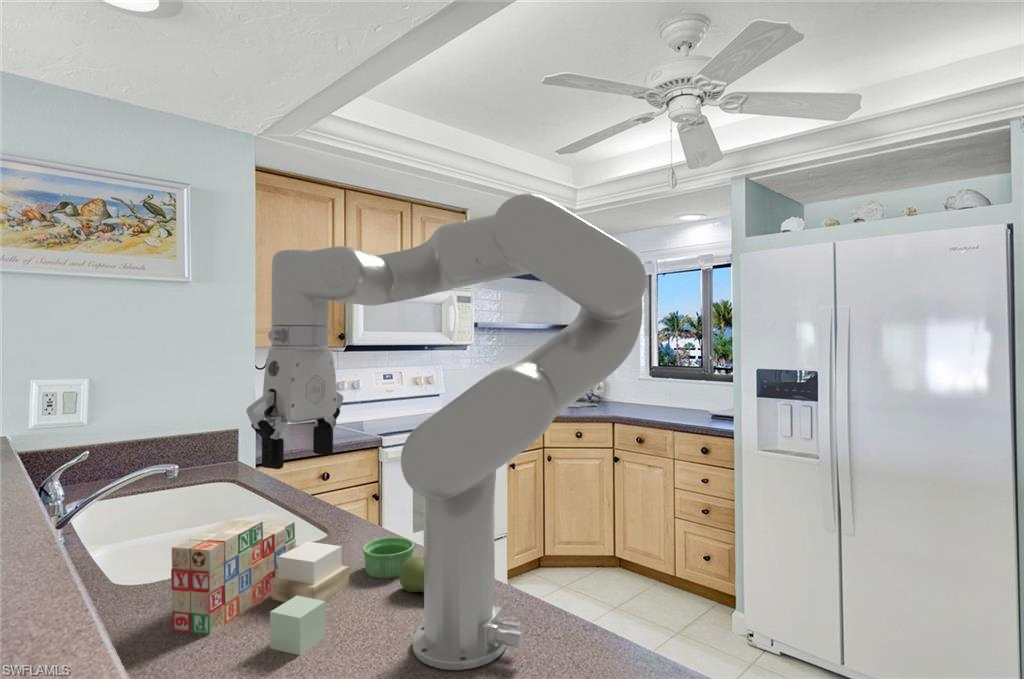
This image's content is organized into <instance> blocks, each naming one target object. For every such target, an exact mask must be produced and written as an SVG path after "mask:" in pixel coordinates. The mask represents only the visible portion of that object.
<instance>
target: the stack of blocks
mask: <svg viewBox="0 0 1024 679" xmlns="http://www.w3.org/2000/svg"><path fill="white" fill-rule="evenodd" d="M295 524H296V523H295V521H293V520H269V519H263V520H251V519H250V520H248V519H247V520H244V519H228V520H226V521H223V522H221V523H219V524H217V525H215V526H213V527H211V528H208V529H207V530H205V531H203V532H201V533H199V534H196V535H195V536H193V537H191V538H189V539H186V540H183V541H182V542H180V543H177V544H176V545H173V546H171V570H170V573H171V574H170V575H171V576H170V580H171V582H170V583H171V598H172V599H171V601H172V605H171V606H172V607H171V608H172V612H171V617H172V618H171V619H172V620H171V621H172V622H171V623H172V626H171V627H172V629H171V630H172V632H179V633H189V634H192V633H193V634H198V635H199V634H200V635H206V636H207V635H208V636H210V635H213V633H214V632H216V631H217V630H219V629H220V628H222V627H223V626H224V625H226V624H227V623H229V622H230V621H232V620H234V619H235V618H236V617H238V616H239V615H241V614H242V613H243V612H245V611H246V610H248V608H250V607H252V605H254V604H255V603H256V602H258V601H259V600H260V599H262V598H263V597H264V596H265V595H266V594H268V593H271V579H273V578H275V577H277V576H278V556H280V555H282V554H284V553H286V552H288V551H290V550H292V549H294V548H296V547H297V544H296V542H297V541H296V533H295V532H296V530H295V526H296V525H295Z"/></svg>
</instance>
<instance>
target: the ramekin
mask: <svg viewBox="0 0 1024 679" xmlns="http://www.w3.org/2000/svg"><path fill="white" fill-rule="evenodd" d="M414 547H415V543H414V541H412V539H409V538H405V537H401V536H387V537H386V536H385V537H381V538H376V539H373V540H371V541H368V542H367V543H365V544H364V545H363V547H362V552H363V555H364V556H363V557H364V566H365V567H364V568H365V573H366V575H368V576H370V577H371V578H376V579H394V578H399V571H400V568H401V566H402V565H403V563H404V562H405V561H406V560H408V559H410V558H413V555H414V554H413V552H414V549H415V548H414Z"/></svg>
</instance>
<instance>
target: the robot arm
mask: <svg viewBox="0 0 1024 679" xmlns="http://www.w3.org/2000/svg"><path fill="white" fill-rule="evenodd" d="M530 274H531V275H533V276H534V277H535V278H537V279H539V280H540V281H542V282H543V283H545V284H546V285H548V286H549V287H551V288H552V289H554V290H556V291H558V292H559V293H560V294H562V295H563V296H565V297H567V298H568V299H570V300H572V301H573V302H575V303H577V304H578V305H579V306H580V308H579V311H578V314H577V316H576V317H575V318H574V319H573V321H572V322H571V323H569V324H568V325H567V326H566V327H564V328H563V329H562V330H560V331H559V332H557V333H556V334H554V336H552V337H550V338H549V340H547V341H545V343H543V344H542V345H540V347H538V348H536V349H535V350H534V351H532V352H531V353H529V354H528V355H527V356H525V357H523V358H522V359H520V360H519V361H517V362H514V363H512V364H509V365H506V366H503V367H501V368H497V369H496V370H494V371H492V372H490V373H488V374H487V375H486V376H484V377H483V378H482V379H480V380H479V381H477V382H476V383H475V384H473V385H472V386H470V387H469V388H468V389H467V390H465V391H464V392H462V393H461V394H459V395H458V396H456V397H455V398H454V399H452V400H451V401H450V402H449V403H447V404H446V405H445V406H443V407H442V408H441V409H439V410H437V411H436V412H435V413H433V414H432V415H431V416H430V417H428V418H427V419H426V420H424V421H422V422H421V423H420V424H418V425H416V427H415V428H414V429H413V430H412V431H411V432H410V433H409V435H408V436H407V438H406V440H405V441H404V444H403V446H402V449H401V454H400V466H401V467H400V468H401V472H402V476H403V479H404V480H405V481H406V483H407V484H408V486H409V487H410V488H411V489H412V490H413V491H414V492H416V493H417V494H419V495H420V496H422V497H424V501H423V502H424V503H423V558H424V592H423V602H424V603H423V608H424V610H423V614H424V616H423V618H424V620H423V625H421V626H420V627H419V628H418V629H417V630H416V631H415V633H414V634H413V637H412V651H413V654H414V655H415V656H416V658H417V659H418V660H419V661H421V663H423V664H425V665H428V666H430V667H432V666H433V668H436V669H439V668H440V669H439V670H445V669H446V670H447V671H464V670H465V669H466V670H470V669H476V668H478V667H483V666H485V665H487V664H489V663H491V662H493V661H494V660H496V659H497V658H499V657H500V656H501V655H502V654H503V653H504V651H505V649H506V647H510V648H516V649H522V647H523V644H524V639H525V637H524V636H525V635H524V632H523V631H521V630H522V625H521V623H520V622H514V621H505V618H503V608H502V607H501V606H498V605H497V606H496V587H495V586H496V574H495V573H496V570H495V569H496V563H495V562H496V555H495V553H496V550H495V545H496V544H495V539H496V538H495V529H496V528H495V527H496V523H495V522H496V520H495V518H496V516H495V514H496V513H495V512H496V510H495V505H496V504H495V503H496V502H495V501H496V499H495V497H496V479H497V478H496V477H497V470H498V469H499V468H501V467H502V466H504V465H505V464H507V463H508V462H510V461H511V460H512V459H514V458H515V457H517V456H518V455H520V454H521V453H522V452H524V451H525V450H526V449H528V448H529V447H530V446H532V445H533V444H534V443H535V442H536V441H538V440H539V439H540V438H541V437H542V436H543V435H544V434H545V433H546V432H547V430H548V429H549V428H550V427H551V424H552V423H553V421H554V420H555V418H557V416H559V415H560V414H561V413H562V412H564V411H565V410H566V409H567V408H569V407H570V406H571V405H572V404H575V403H576V402H577V401H578V400H580V399H581V398H582V397H584V396H585V395H586V394H588V393H589V392H590V391H592V390H593V389H594V388H595V387H596V386H598V385H599V384H600V383H602V382H603V381H604V380H606V379H607V378H608V377H609V376H611V375H612V374H613V373H614V372H615V371H616V370H618V369H619V367H620V366H622V364H623V363H624V362H625V361H626V359H628V357H629V355H630V354H631V353H632V350H633V349H634V347H635V345H636V342H637V340H638V337H639V335H640V331H641V327H642V323H643V297H644V294H645V292H646V287H647V273H646V268H645V265H644V264H643V262H642V260H641V258H640V257H639V256H638V255H637V254H636V253H635V252H634V250H632V249H631V248H629V246H627V245H625V244H624V243H622V242H621V241H619V240H617V239H616V238H615V237H612V236H611V235H609V234H607V233H606V232H604V231H603V230H601V229H599V228H598V227H596V226H594V225H592V224H591V223H589V222H587V221H586V220H584V219H582V218H580V217H579V216H577V215H576V214H574V213H572V212H571V211H569V210H567V208H565V207H563V206H561V205H559V204H558V203H557V202H555V201H553V200H551V199H549V198H548V197H545V196H543V195H540V194H538V193H536V194H535V193H520V194H517V195H514V196H512V197H510V198H508V199H507V200H506V201H503V203H502V204H501V205H500V206H499V207H498V208H497V210H496V212H495V213H494V214H490V215H487V216H482V217H477V218H473V219H467V220H462V221H457V222H452V223H446V224H443V225H441V226H439V227H438V228H436V229H435V230H434V232H433V233H432V234H431V236H430V237H429V238H428V239H427V241H425V242H423V243H421V244H419V245H417V246H415V247H411V248H408V249H407V248H406V249H403V250H398V251H393V252H388V253H384V254H377V255H374V254H371V253H369V252H366V251H363V250H359V249H357V248H353V247H350V246H344V245H343V246H342V245H340V246H331V247H326V248H321V249H314V250H308V249H306V250H305V249H282V250H279V251H277V252H276V253H275V254H274V255H273V256H272V260H271V320H270V321H271V322H270V323H271V327H270V328H271V329H270V331H269V332H268V334H267V336H268V340H270V341H271V342H270V345H271V346H270V347H271V348H270V349H268V352H267V355H266V356H267V357H266V362H265V369H264V374H263V375H264V376H263V377H264V378H263V386H262V387H263V389H262V396H260V397H259V398H258V399H257V400H255V401H254V402H253V403H251V405H249V406H247V408H246V414H247V416H248V418H249V420H250V423H251V424H250V425H251V428H252V429H253V430H254V431H255V432H256V434H257V437H258V438H259V439H261V467H262V468H264V469H272V470H273V469H274V470H281V469H283V468H284V459H285V458H284V452H285V451H284V444H285V442H284V438H281V435H282V433H283V432H284V430H285V428H286V427H287V425H288V423H290V424H299V423H303V422H309V421H314V422H315V424H316V426H315V425H314V426H313V435H312V436H313V441H312V442H313V444H312V446H313V447H312V448H313V450H312V451H313V453H314V454H316V455H322V456H323V455H325V456H331V455H333V454H334V428H335V427H336V425H337V419H338V417H339V416H340V413H341V407H342V405H343V401H344V396H343V395H342V394H341V393H339V392H338V391H337V377H336V367H335V360H334V355H333V352H332V349H331V348H329V301H331V302H335V303H336V302H337V303H339V302H340V303H344V304H352V305H353V304H355V305H361V306H369V307H370V306H380V305H385V304H391V303H397V302H402V301H408V300H412V299H413V300H414V299H418V298H422V297H426V296H429V295H433V294H438V293H443V292H448V291H450V290H453V289H456V288H461V287H466V286H472V285H473V286H474V285H478V284H481V283H486V282H493V281H497V280H502V279H508V278H514V277H519V276H524V275H530ZM274 424H275V425H274ZM273 426H274V427H273Z"/></svg>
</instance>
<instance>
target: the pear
mask: <svg viewBox="0 0 1024 679" xmlns="http://www.w3.org/2000/svg"><path fill="white" fill-rule="evenodd" d="M398 581H399V583H400V585H401V587H402V588H403V589H404V590H405V591H407V592H409V593H421V592H423V593H424V557H419V556H412V558H410V559H408V560H406V561H405V562H404V563H403V565H402V566H401V568H400V571H399V576H398Z"/></svg>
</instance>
